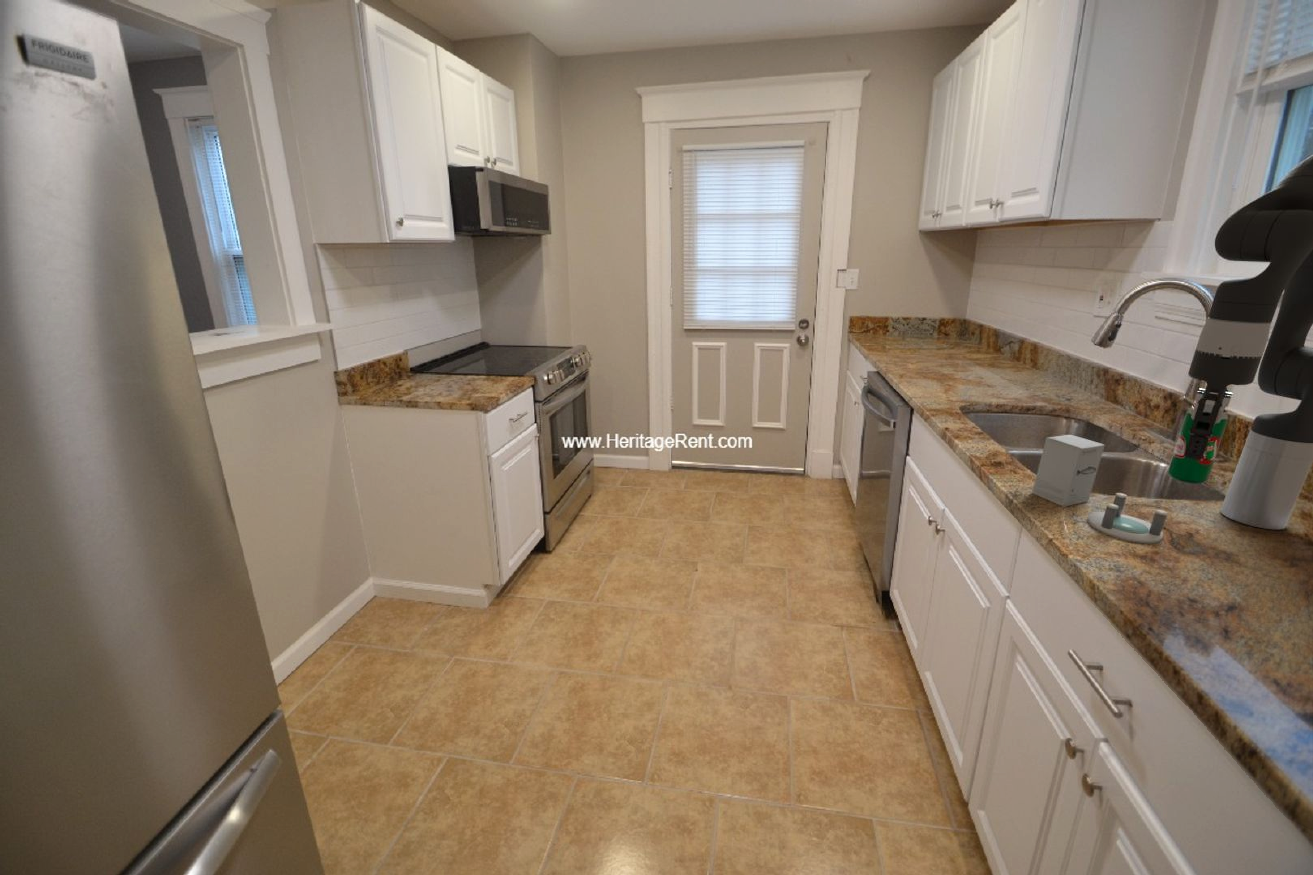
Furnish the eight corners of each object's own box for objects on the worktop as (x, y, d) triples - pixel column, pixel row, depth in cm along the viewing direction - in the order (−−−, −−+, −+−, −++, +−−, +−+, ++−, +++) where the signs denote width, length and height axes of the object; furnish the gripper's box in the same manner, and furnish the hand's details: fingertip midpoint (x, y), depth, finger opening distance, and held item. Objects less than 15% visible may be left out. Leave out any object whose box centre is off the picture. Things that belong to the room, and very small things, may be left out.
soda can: (1165, 470, 100) (1187, 402, 96) (1205, 478, 97) (1229, 408, 93) (1166, 479, 96) (1189, 409, 92) (1207, 487, 93) (1232, 415, 89)
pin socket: (1095, 510, 116) (1102, 486, 114) (1166, 530, 109) (1175, 505, 107) (1081, 527, 109) (1088, 502, 107) (1156, 549, 101) (1165, 523, 100)
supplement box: (1065, 507, 117) (1081, 448, 113) (1030, 493, 124) (1044, 436, 119) (1089, 502, 120) (1106, 444, 116) (1054, 488, 126) (1069, 433, 122)
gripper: (1201, 341, 97) (1170, 438, 103) (1191, 352, 87) (1158, 458, 93) (1264, 347, 92) (1228, 449, 97) (1261, 360, 82) (1222, 472, 88)
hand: (1194, 453), depth 95 cm, fingers closed on soda can, 5 cm apart
